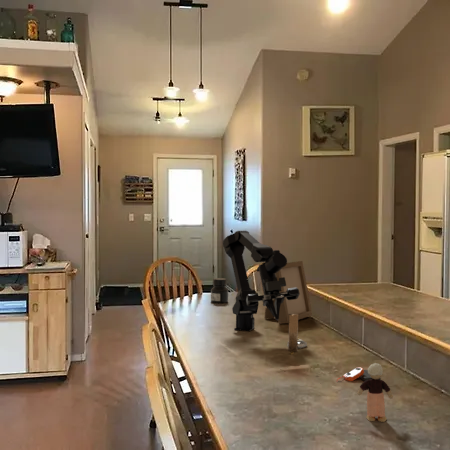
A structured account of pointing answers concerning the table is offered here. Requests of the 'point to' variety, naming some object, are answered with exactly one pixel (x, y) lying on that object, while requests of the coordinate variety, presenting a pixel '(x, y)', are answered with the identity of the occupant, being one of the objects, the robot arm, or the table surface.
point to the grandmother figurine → (375, 393)
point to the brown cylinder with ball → (294, 334)
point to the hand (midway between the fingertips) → (277, 319)
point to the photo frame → (297, 306)
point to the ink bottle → (219, 291)
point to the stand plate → (298, 340)
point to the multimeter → (357, 375)
